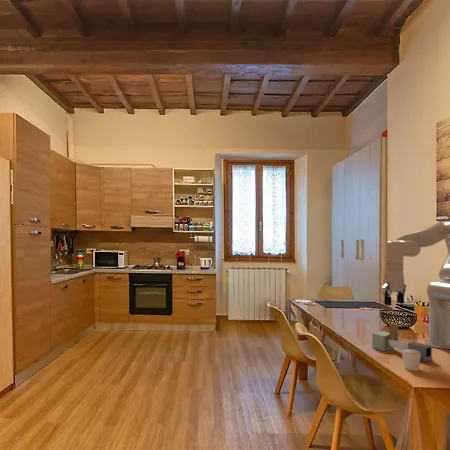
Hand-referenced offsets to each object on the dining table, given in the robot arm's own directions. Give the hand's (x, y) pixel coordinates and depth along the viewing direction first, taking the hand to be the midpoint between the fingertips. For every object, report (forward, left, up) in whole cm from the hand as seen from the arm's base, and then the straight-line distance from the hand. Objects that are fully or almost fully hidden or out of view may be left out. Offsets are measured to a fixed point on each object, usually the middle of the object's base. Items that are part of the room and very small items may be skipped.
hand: (394, 304), depth 180 cm
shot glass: (+15, +18, -22) cm, 32 cm away
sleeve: (0, +13, -22) cm, 25 cm away
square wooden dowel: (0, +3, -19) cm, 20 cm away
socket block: (0, -5, -22) cm, 22 cm away
